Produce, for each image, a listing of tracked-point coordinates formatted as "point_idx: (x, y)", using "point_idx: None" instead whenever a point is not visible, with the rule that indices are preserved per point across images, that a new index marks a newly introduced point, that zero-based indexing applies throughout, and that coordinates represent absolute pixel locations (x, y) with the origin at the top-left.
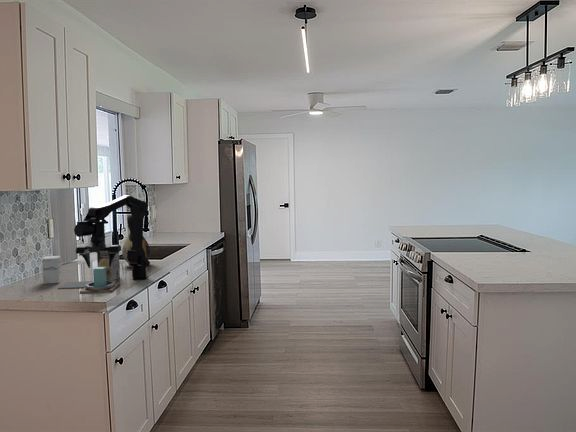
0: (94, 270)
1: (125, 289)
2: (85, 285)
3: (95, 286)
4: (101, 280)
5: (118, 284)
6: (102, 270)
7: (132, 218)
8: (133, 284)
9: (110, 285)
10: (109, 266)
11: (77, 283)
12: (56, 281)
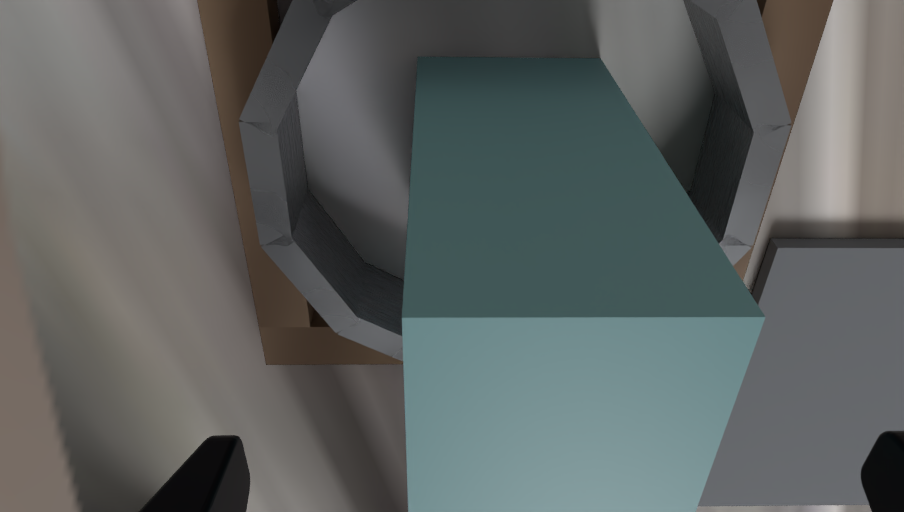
0: (699, 285)
1: (21, 47)
2: (768, 328)
3: (586, 85)
4: (466, 132)
5: (255, 294)
6: (433, 280)
7: None
8: (73, 344)
9: (269, 55)
10: (219, 452)
11: (875, 432)
12: None
